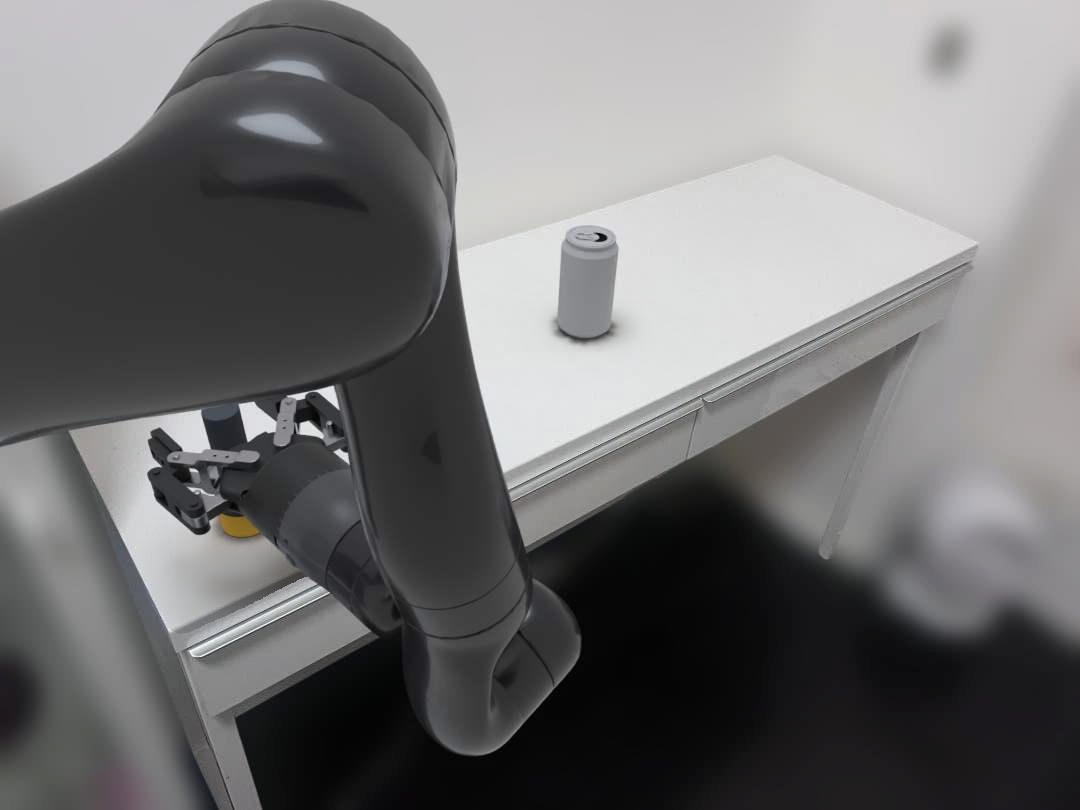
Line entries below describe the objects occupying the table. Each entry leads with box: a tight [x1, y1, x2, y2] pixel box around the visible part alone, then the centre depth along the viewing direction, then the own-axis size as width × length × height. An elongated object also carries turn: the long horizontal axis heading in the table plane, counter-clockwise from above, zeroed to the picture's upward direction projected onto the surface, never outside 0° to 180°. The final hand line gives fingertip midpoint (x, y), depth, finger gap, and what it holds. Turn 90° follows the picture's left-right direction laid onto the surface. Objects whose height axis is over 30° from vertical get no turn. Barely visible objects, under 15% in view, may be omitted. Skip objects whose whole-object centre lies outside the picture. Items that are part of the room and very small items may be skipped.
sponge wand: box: [200, 404, 261, 538], centre depth 66 cm, size 4×4×12 cm
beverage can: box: [556, 224, 620, 339], centre depth 93 cm, size 6×6×12 cm
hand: (208, 414), depth 64 cm, fingers open, 8 cm apart
